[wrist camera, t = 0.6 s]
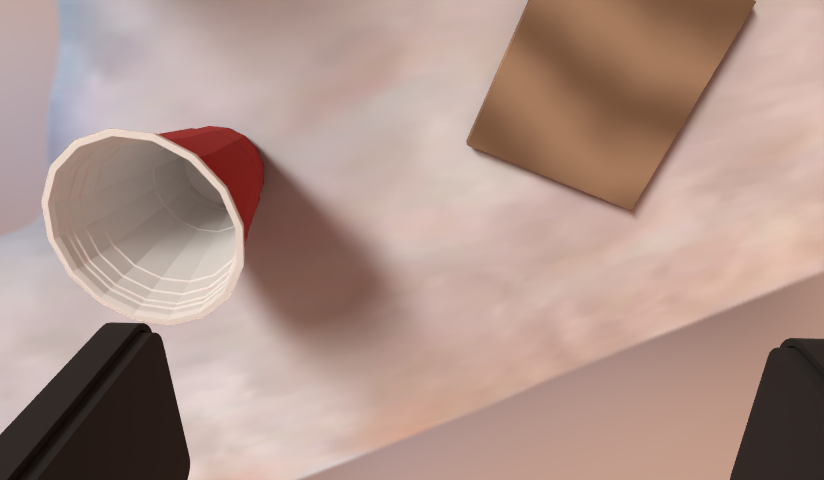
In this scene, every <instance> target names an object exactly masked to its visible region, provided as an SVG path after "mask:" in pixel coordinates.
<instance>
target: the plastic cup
mask: <svg viewBox="0 0 824 480" xmlns="http://www.w3.org/2000/svg"><path fill="white" fill-rule="evenodd" d="M263 184H264V166H263V162H262V159H261V157H260V155H259V152H258V150H257V148H256V147H255V146H254V145H253V144H252V143H251V142H250V141H249V140H248V139H247V138H246V137H245V136H244V135H242V134H240V133H238V132H236V131H234V130H232V129H230V128H223V127H213V126H207V127H203V128H198V129H192V128H191V129H185V130H179V131H173V132H168V133H162V134H154V133H145V132H137V131H128V130H120V129H111V128H110V129H107V130H104V131H101V132H98V133H95V134H92V135H89V136H86V137H83V138H80V139H77V140H74V141H73V142H72V143H71V144H70V145H69V146H68V148H67V149H66V150H65V151H64V152H63V153H62V154H61V155H60V156H59V157H58V158H57V159H56V161H55V162H54V163H53V164H52V165H51V166H50V169H49V173H48V177H47V181H46V185H45V189H44V193H43V197H42V201H41V202H42V208H43V213H44V219H45V225H46V230H47V236H48V240H49V242H50V243H51V245H52V247H53V249H54V250H55V252H56V254H57V256H58V257H59V259H60V261H61V263H62V264H63V266H64V268H65V270H66V271H67V273H68V274H69V275H70V276H71V277H72V278H73V279H74V280H75V281H76V282H77V283H78V284H79V285H80V286H81V287H82V288H83V289H85V290H86V291H87V292H88V293H89V294H90V295H91V296H92V297H93V298H94V299H95V300H96V301H97V302H99V303H101V304H103V305H105V306H107V307H109V308H111V309H113V310H115V311H117V312H119V313H121V314H123V315H125V316H127V317H129V318H131V319H133V320H138V321H145V322H152V323H158V324H165V325H174V324H178V323H183V322H187V321H191V320H196V319H200V318H204V317H205V316H207V315H208V314H209V313H210V312H212V311H213V310H214V309H216V308H217V307H218V306H219V305H221V304H222V303H223V302H224V301H226V300H227V299H228V298H229V297H230V296H231V293H232V291H233V289H234V287H235V284H236V282H237V280H238V278H239V275H240V273H241V271H242V269H243V266H244V263H245V249H244V247H245V242H246V239H247V237H248V230H249V227H250V224H251V222H252V219H253V216H254V213H255V211H256V208H257V205H258V202H259V200H260V192H261V189H262V186H263Z"/></svg>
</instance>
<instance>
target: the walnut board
mask: <svg viewBox="0 0 824 480" xmlns="http://www.w3.org/2000/svg"><path fill="white" fill-rule="evenodd" d="M755 3H756V1H754V0H528V3H527V5H526V7H525V10H524V12H523V14H522V16H521V19H520V21H519V23H518V25H517V28H516V30H515V32H514V34H513V37H512V39H511V41H510V43H509V46H508V48H507V50H506V53H505V55H504V57H503V59H502V62H501V64H500V66H499V68H498V71H497V73H496V75H495V77H494V80H493V82H492V84H491V87H490V89H489V91H488V93H487V96H486V98H485V100H484V102H483V105H482V107H481V109H480V111H479V114H478V116H477V118H476V120H475V123H474V125H473V127H472V130H471V132H470V134H469V136H468V139H467V145H468V146H471V147H473V148H476V149H478V150H481V151H483V152H486V153H488V154H491V155H493V156H496V157H498V158H501V159H503V160H506V161H508V162H511V163H513V164H516V165H518V166H521V167H523V168H526V169H528V170H531V171H533V172H536V173H538V174H541V175H543V176H546V177H548V178H551V179H553V180H556V181H558V182H561V183H563V184H566V185H568V186H571V187H573V188H576V189H578V190H581V191H583V192H586V193H588V194H591V195H593V196H596V197H598V198H601V199H603V200H606V201H608V202H611V203H613V204H616V205H618V206H621V207H623V208H626V209H628V210H632V208H633V207H634V205H635V203H636V202H637V200H638V198H639V197H640V195H641V193H642V192H643V190H644V188H645V187H646V185H647V183H648V182H649V180H650V178H651V177H652V175H653V173H654V172H655V170H656V168H657V167H658V165H659V163H660V162H661V160H662V158H663V157H664V155H665V153H666V152H667V150H668V148H669V147H670V145H671V143H672V142H673V140H674V138H675V137H676V135H677V133H678V132H679V130H680V128H681V127H682V125H683V123H684V121H685V120H686V118H687V116H688V115H689V113H690V111H691V110H692V108H693V106H694V105H695V103H696V101H697V100H698V98H699V96H700V95H701V93H702V91H703V90H704V88H705V86H706V85H707V83H708V81H709V80H710V78H711V76H712V75H713V73H714V71H715V70H716V68H717V66H718V65H719V63H720V61H721V60H722V58H723V56H724V55H725V53H726V51H727V50H728V48H729V46H730V45H731V43H732V41H733V40H734V38H735V36H736V34H737V33H738V31H739V29H740V28H741V26H742V24H743V23H744V21H745V19H746V18H747V16H748V14H749V13H750V11H751V9H752V8H753V6H754V4H755Z"/></svg>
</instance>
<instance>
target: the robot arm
mask: <svg viewBox="0 0 824 480" xmlns="http://www.w3.org/2000/svg"><path fill="white" fill-rule="evenodd" d="M189 470H190V457H189V453H188V448H187V444H186V440H185V436H184V431H183V427H182V423H181V418H180V414H179V410H178V405H177V401H176V397H175V393H174V388H173V384H172V380H171V375H170V371H169V367H168V363H167V358H166V354H165V350H164V345H163V341H162V338H161V336H160V335H159V334H157V333H152V331H151V329H150V327H149V326H148V325H147V324H144V323H106V324H105V325H103V326H102V327H101V328H100V329H99V330H98V331H97V332H96V333H95V334H94V335H93V337H92V338H91V339H90V340H89V341H88V342H87V343H86V344H85V345H84V346H83V347H82V348H81V349H80V350H79V351H78V353H77V354H76V355H75V356H74V357H73V358H72V359H71V360H70V361H69V362H68V363H67V364H66V365H65V366H64V367H63V368H62V370H61V371H60V372H59V373H58V374H57V375H56V376H55V377H54V378H53V379H52V380H51V381H50V382H49V383H48V384H47V386H46V387H45V388H44V389H43V390H42V391H41V392H40V393H39V394H38V395H37V396H36V397H35V398H34V399H33V400H32V402H31V403H30V404H29V405H28V406H27V407H26V408H25V409H24V410H23V411H22V412H21V413H20V414H19V415H18V416H17V418H16V419H15V420H14V421H13V422H12V423H11V424H10V425H9V426H8V427H7V428H6V429H5V430H4V431H3V432H2V433H1V435H0V480H187V479H188V475H189ZM730 480H824V339H802V338H790V339H786V340H785V341H784V342H783V343H782V344H781V346H780V348H774V349H773V350H772V351H771V352H770V353H769V356H768V359H767V362H766V365H765V368H764V371H763V374H762V378H761V381H760V384H759V387H758V390H757V394H756V397H755V400H754V403H753V406H752V410H751V413H750V416H749V419H748V423H747V426H746V429H745V432H744V435H743V438H742V442H741V445H740V448H739V451H738V455H737V457H736V461H735V464H734V467H733V470H732V473H731V478H730Z"/></svg>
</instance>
